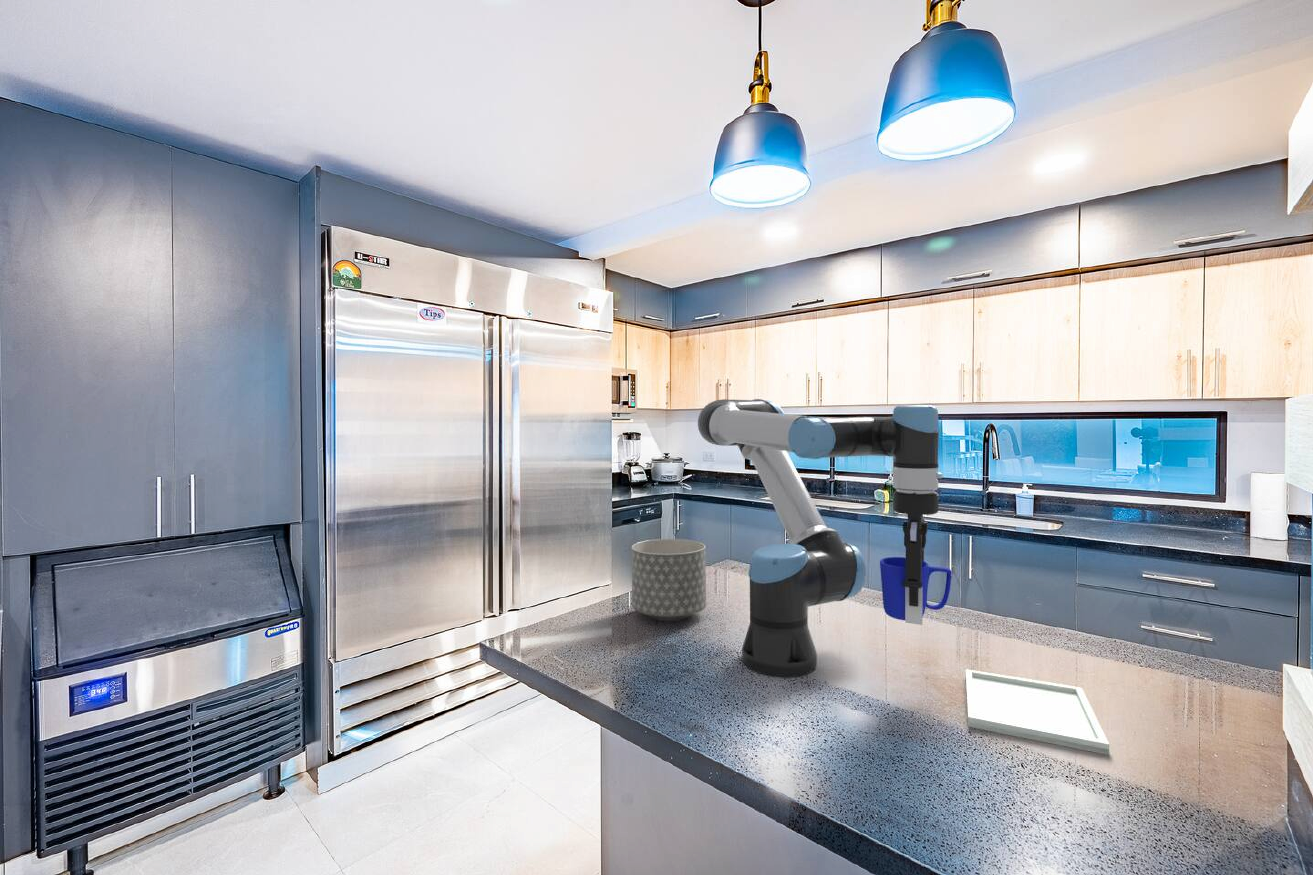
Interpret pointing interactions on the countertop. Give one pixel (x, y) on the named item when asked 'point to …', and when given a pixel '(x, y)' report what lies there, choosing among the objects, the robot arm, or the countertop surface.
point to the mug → (895, 592)
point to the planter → (669, 578)
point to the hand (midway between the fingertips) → (915, 616)
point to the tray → (1033, 711)
